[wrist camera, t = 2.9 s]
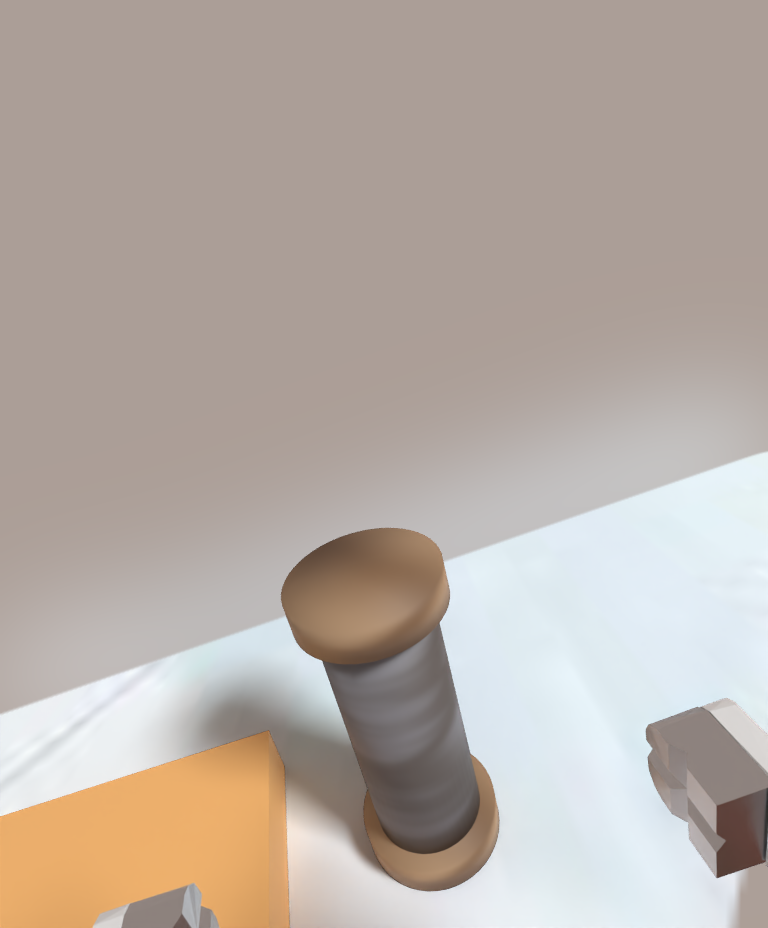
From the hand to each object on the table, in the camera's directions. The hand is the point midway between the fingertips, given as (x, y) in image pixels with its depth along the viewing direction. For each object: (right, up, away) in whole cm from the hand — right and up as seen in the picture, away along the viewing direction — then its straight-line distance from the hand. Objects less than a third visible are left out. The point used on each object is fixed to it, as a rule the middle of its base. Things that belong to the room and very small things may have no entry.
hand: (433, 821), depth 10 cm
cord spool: (+2, -11, +18) cm, 22 cm away
